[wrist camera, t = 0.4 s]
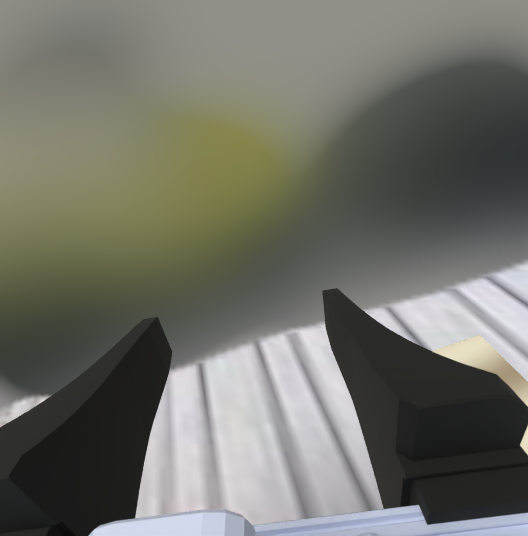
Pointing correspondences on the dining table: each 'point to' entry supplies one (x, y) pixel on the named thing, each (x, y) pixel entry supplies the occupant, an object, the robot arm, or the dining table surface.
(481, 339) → the beige block
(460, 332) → the dining table surface
